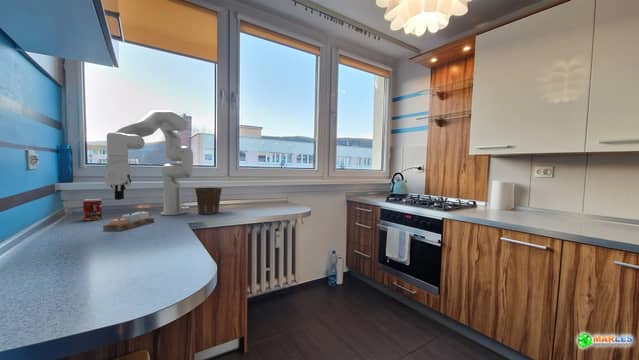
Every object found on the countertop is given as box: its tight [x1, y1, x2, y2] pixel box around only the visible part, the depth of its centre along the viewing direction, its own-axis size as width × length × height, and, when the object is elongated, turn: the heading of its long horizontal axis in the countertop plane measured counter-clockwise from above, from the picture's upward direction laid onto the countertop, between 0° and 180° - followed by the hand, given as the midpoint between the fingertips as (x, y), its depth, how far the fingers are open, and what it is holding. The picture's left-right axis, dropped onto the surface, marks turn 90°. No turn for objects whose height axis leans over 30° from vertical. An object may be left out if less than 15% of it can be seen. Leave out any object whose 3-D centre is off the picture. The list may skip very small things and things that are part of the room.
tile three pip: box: [109, 217, 128, 225], centre depth 120 cm, size 5×5×4 cm
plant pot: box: [194, 187, 223, 215], centre depth 166 cm, size 16×16×16 cm
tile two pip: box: [121, 213, 139, 222], centre depth 126 cm, size 5×5×4 cm
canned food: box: [82, 198, 103, 220], centre depth 141 cm, size 8×8×11 cm
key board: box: [102, 216, 155, 232], centre depth 126 cm, size 20×8×2 cm, turn 174°
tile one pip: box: [132, 211, 149, 220], centre depth 133 cm, size 5×5×4 cm
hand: (119, 199), depth 120 cm, fingers closed
